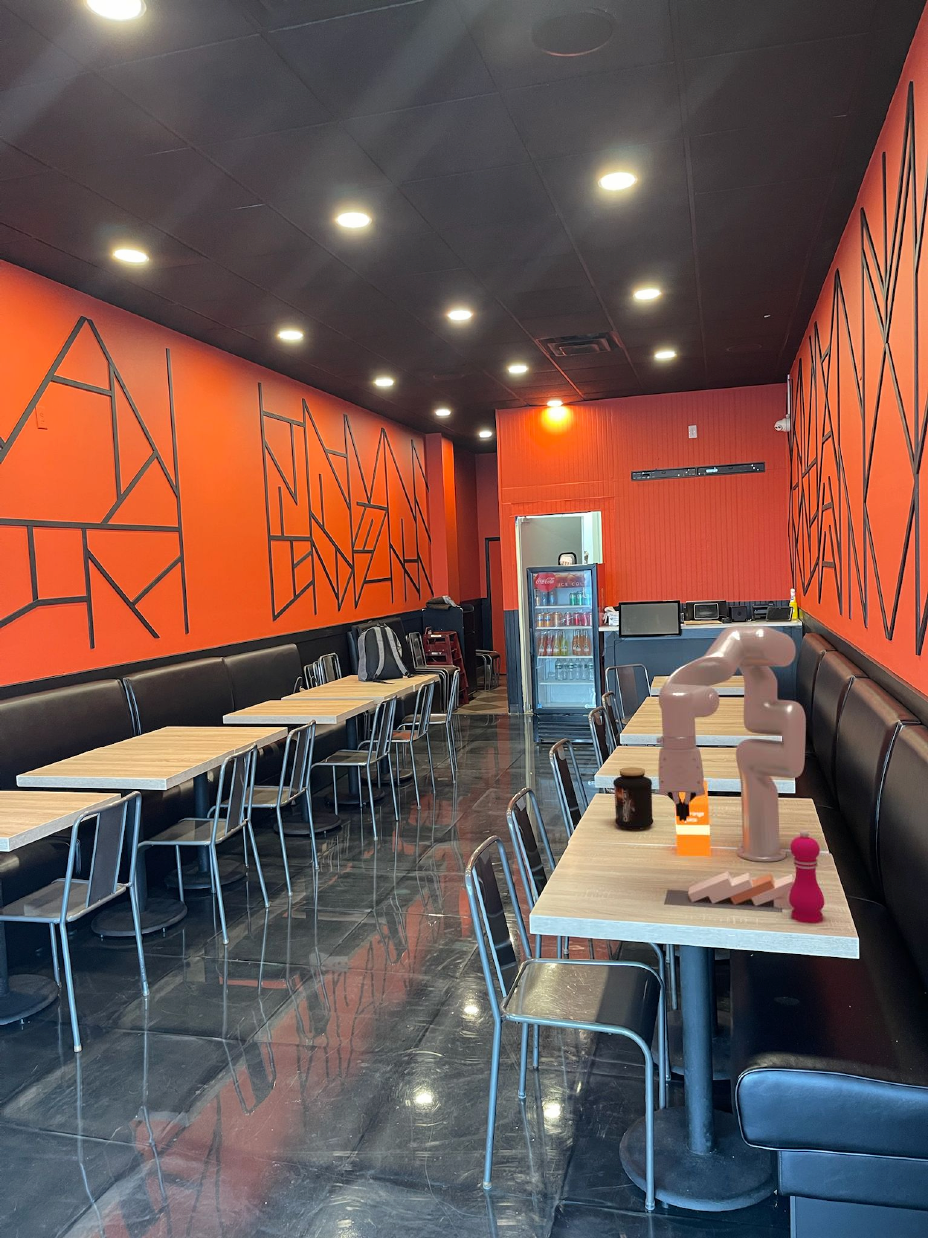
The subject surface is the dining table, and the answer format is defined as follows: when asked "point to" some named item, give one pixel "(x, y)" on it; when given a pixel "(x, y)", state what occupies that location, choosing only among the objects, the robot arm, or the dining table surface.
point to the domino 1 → (710, 886)
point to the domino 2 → (733, 888)
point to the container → (633, 799)
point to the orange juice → (694, 827)
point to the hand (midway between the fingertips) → (683, 819)
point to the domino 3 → (755, 889)
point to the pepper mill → (806, 880)
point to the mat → (684, 900)
